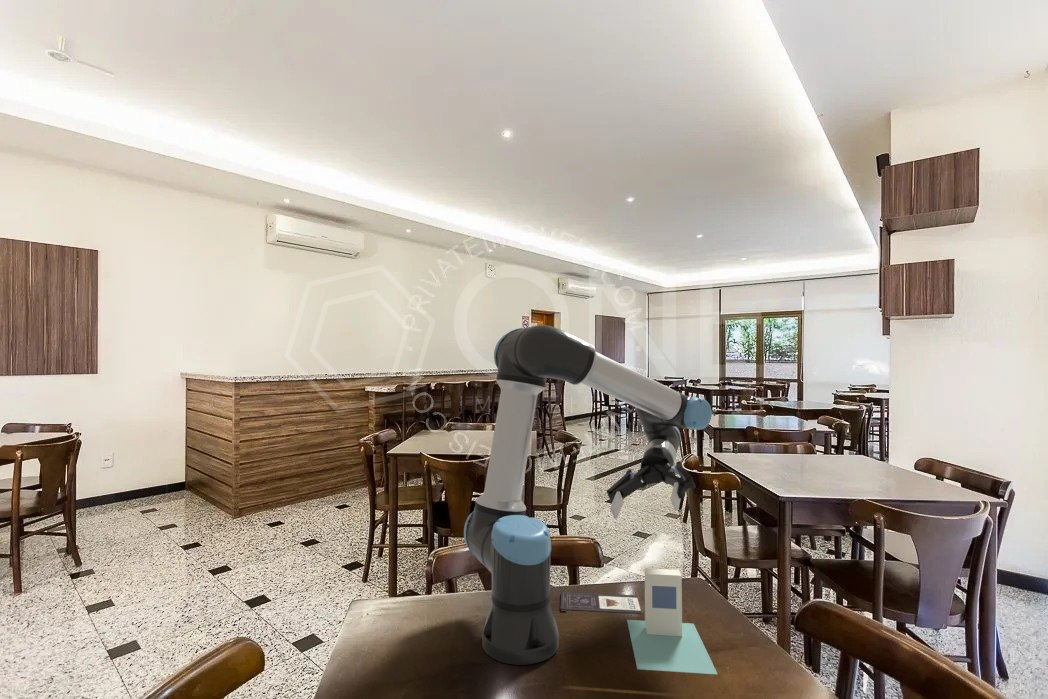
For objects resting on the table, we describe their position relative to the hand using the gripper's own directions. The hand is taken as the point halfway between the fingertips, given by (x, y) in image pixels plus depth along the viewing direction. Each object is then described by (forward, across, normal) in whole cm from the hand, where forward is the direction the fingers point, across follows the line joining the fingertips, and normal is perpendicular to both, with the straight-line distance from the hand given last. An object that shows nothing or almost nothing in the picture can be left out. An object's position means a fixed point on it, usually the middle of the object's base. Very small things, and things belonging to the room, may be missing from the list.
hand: (643, 509), depth 105 cm
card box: (+8, +2, -23) cm, 25 cm away
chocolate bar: (+2, +18, -22) cm, 29 cm away
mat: (+13, +1, -22) cm, 26 cm away
